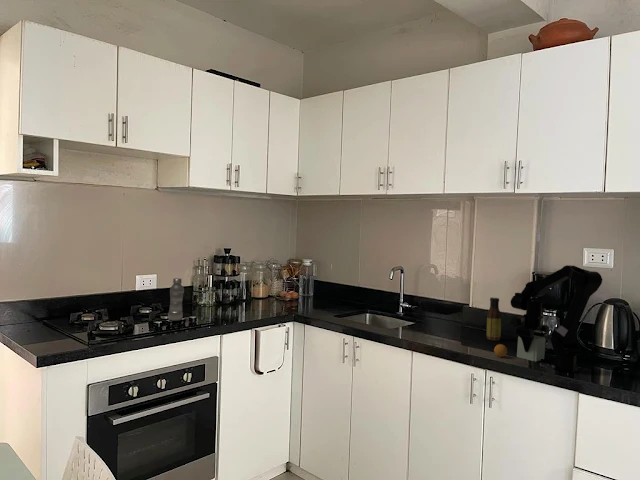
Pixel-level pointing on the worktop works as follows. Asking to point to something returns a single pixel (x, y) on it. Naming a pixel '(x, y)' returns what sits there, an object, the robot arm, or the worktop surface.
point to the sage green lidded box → (532, 349)
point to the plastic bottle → (176, 300)
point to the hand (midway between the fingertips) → (530, 350)
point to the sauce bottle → (494, 320)
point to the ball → (500, 350)
